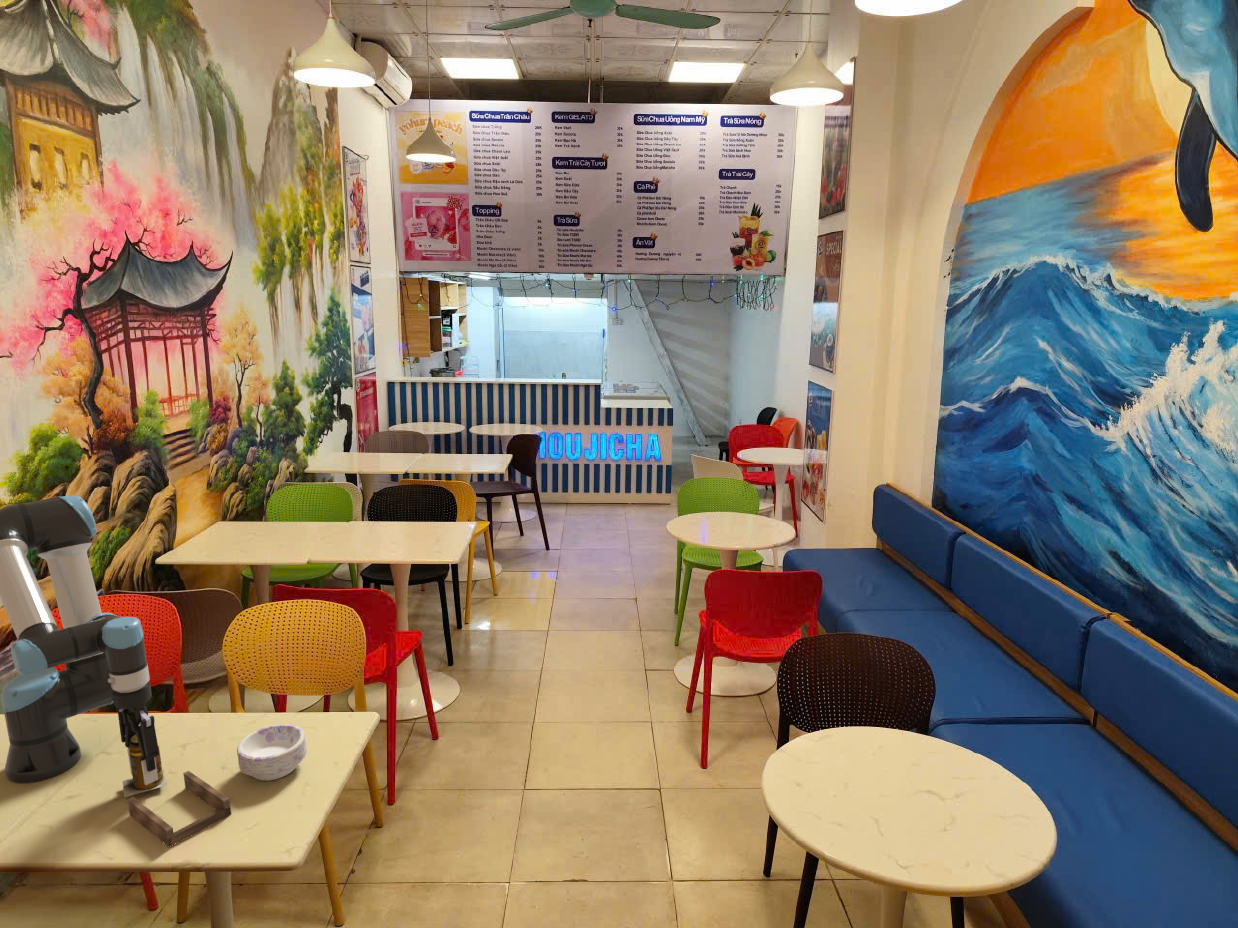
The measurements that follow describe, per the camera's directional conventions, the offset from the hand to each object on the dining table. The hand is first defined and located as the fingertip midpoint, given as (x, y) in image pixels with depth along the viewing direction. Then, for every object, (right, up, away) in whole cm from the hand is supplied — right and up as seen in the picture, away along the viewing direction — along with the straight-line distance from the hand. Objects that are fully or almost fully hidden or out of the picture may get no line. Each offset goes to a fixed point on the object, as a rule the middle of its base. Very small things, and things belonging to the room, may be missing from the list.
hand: (144, 776), depth 190 cm
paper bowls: (+27, -2, +8) cm, 28 cm away
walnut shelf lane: (+13, -5, -9) cm, 16 cm away
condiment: (0, -2, +1) cm, 2 cm away
